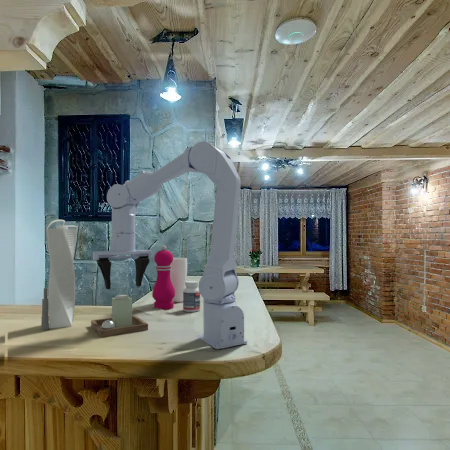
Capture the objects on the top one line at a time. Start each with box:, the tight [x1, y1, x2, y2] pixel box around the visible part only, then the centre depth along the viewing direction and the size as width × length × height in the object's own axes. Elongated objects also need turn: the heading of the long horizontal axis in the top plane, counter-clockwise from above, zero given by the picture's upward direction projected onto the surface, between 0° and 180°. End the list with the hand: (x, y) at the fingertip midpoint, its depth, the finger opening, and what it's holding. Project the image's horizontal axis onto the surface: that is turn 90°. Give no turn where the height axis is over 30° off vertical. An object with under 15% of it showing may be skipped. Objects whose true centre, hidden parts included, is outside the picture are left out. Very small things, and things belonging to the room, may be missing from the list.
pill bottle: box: [182, 280, 201, 313], centre depth 108 cm, size 5×5×9 cm
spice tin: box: [111, 294, 133, 328], centre depth 87 cm, size 4×4×8 cm
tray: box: [90, 314, 149, 338], centre depth 86 cm, size 11×11×2 cm
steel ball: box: [102, 320, 115, 330], centre depth 82 cm, size 3×3×3 cm
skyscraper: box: [40, 219, 79, 331], centre depth 89 cm, size 8×8×28 cm
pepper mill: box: [151, 244, 175, 311], centre depth 111 cm, size 7×7×20 cm
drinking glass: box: [170, 257, 188, 303], centre depth 121 cm, size 7×7×15 cm
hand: (123, 287), depth 87 cm, fingers open, 7 cm apart
